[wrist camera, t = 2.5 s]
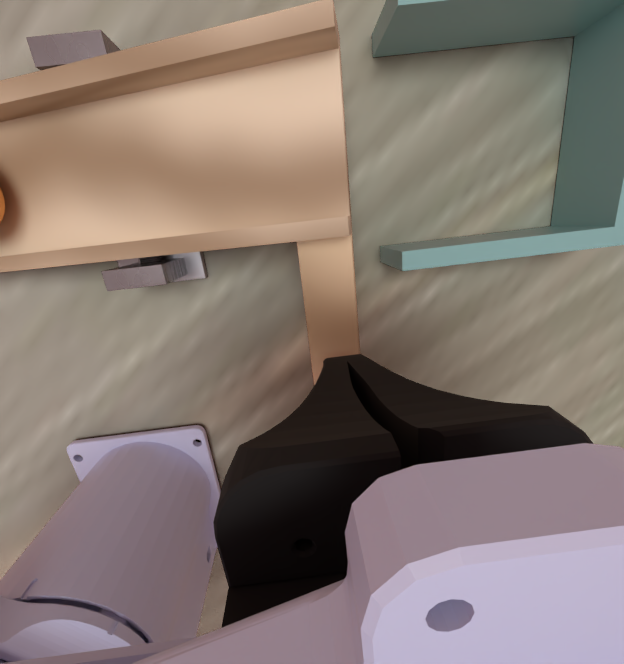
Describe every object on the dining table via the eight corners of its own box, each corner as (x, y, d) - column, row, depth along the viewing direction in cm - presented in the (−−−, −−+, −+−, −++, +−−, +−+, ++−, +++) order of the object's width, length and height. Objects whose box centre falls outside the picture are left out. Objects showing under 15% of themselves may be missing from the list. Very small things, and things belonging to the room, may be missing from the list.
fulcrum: (207, 276, 16) (187, 289, 13) (130, 285, 16) (90, 300, 13) (162, 65, 14) (122, 16, 10) (67, 75, 14) (-3, 28, 10)
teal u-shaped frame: (563, 240, 17) (629, 244, 14) (380, 261, 17) (402, 271, 13) (595, 11, 14) (690, -56, 11) (371, 34, 14) (397, -26, 10)
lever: (363, 413, 15) (362, 456, 12) (43, 412, 18) (-11, 445, 16) (339, 37, 10) (329, -24, 8) (-81, 131, 14) (-186, 112, 11)
